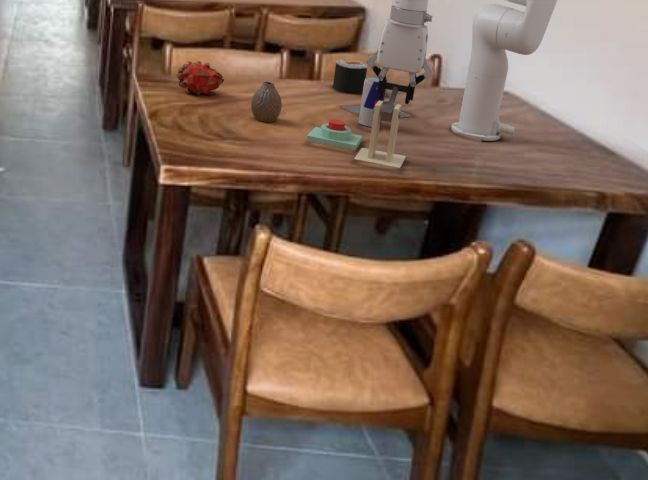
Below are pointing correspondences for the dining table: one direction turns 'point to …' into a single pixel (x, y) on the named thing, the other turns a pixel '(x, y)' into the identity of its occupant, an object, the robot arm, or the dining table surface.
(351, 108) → the architectural model
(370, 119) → the energy drink
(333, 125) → the button
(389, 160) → the bracket
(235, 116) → the dining table surface
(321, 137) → the switch block
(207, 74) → the dragon fruit
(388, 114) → the lever
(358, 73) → the sushi
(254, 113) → the vase
